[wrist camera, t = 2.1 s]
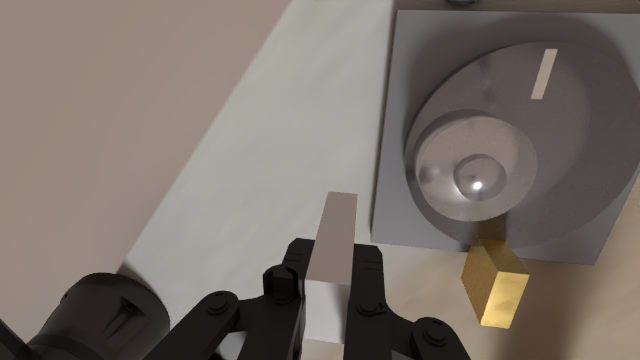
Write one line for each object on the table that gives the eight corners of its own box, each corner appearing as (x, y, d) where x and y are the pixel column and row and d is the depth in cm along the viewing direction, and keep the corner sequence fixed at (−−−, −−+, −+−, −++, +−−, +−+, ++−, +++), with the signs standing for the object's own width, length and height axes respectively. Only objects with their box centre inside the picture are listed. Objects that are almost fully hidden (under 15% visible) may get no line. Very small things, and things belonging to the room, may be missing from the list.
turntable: (386, 268, 34) (390, 313, 28) (420, 38, 24) (437, 36, 19) (563, 288, 31) (606, 341, 26) (675, 45, 22) (780, 45, 16)
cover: (405, 194, 28) (414, 224, 23) (420, 106, 25) (432, 120, 20) (497, 201, 27) (525, 235, 22) (525, 111, 24) (564, 128, 19)
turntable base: (370, 234, 34) (370, 244, 33) (396, 11, 25) (398, 9, 24) (584, 256, 32) (595, 267, 30) (696, 17, 23) (722, 14, 21)
